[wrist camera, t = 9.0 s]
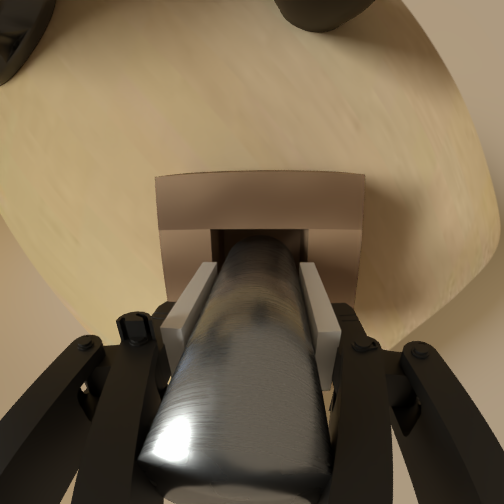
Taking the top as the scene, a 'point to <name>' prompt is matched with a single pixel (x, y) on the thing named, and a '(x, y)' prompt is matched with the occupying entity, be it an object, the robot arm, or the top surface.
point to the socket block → (262, 222)
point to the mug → (321, 12)
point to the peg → (244, 393)
